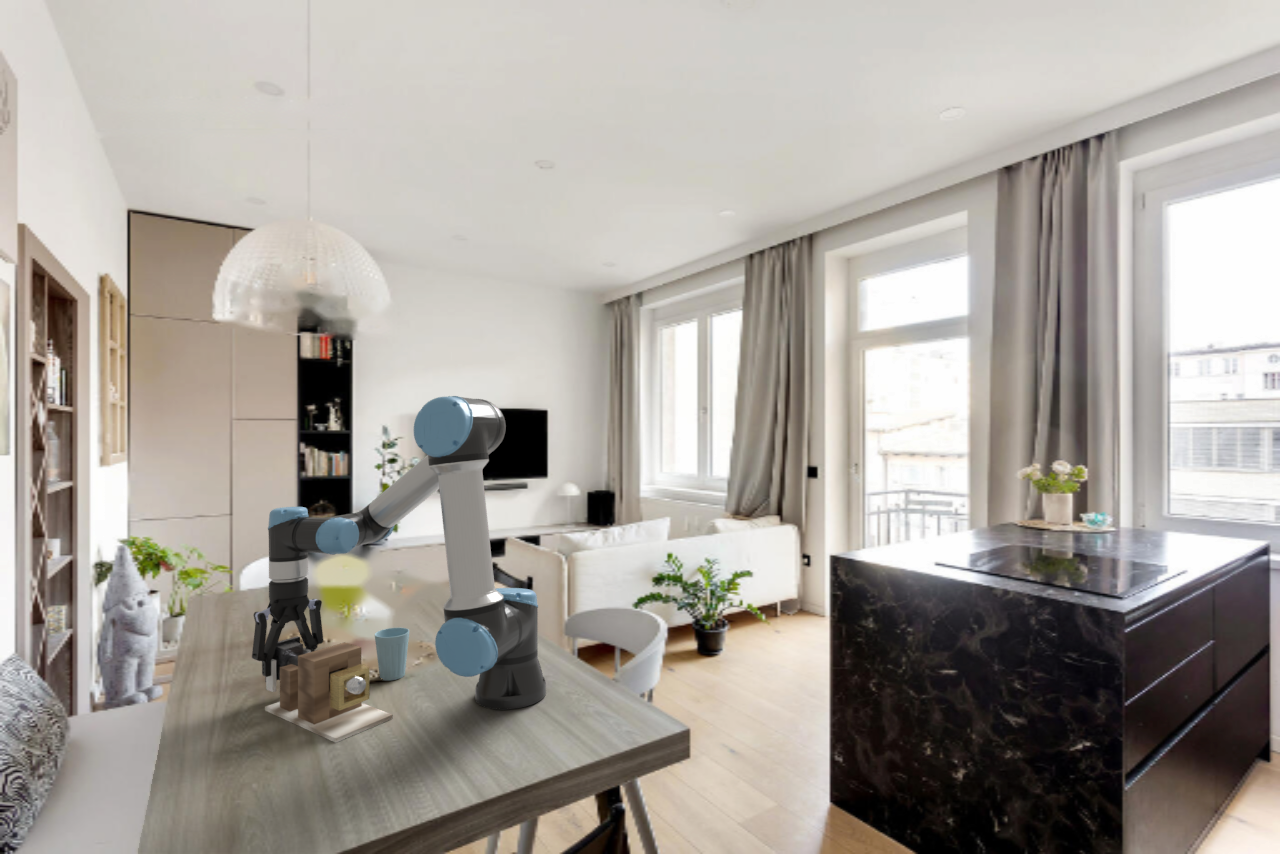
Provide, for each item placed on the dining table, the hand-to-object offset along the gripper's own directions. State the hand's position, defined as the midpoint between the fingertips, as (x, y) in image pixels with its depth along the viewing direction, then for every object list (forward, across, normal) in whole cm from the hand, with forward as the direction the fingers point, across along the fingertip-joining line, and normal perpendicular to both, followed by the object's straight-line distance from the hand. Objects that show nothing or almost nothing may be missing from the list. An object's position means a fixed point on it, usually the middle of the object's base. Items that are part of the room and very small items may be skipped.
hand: (289, 684), depth 139 cm
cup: (+3, -20, +8) cm, 22 cm away
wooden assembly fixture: (+3, 0, +16) cm, 16 cm away
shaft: (-1, 0, +11) cm, 12 cm away
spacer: (-4, 0, +23) cm, 23 cm away
